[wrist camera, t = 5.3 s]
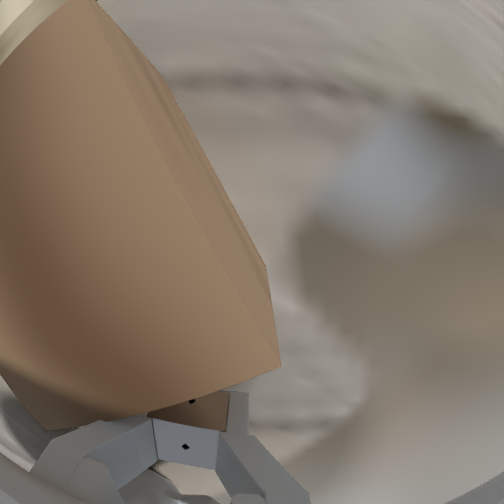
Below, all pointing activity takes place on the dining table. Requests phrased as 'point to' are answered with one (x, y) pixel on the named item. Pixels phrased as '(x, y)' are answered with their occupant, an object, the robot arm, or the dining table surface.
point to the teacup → (157, 491)
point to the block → (115, 236)
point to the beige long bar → (22, 21)
